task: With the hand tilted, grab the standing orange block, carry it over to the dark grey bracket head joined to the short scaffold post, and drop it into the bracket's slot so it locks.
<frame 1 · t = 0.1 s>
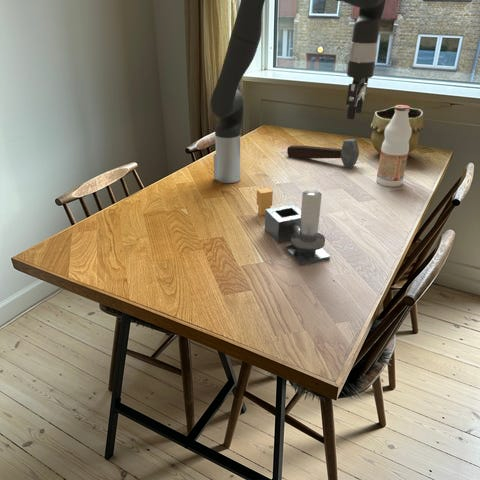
hand: (354, 115, 135), 29 cm above the table, tool pointing down, fingers open, 8 cm apart
orange block: (264, 213, 142), on the table
fruit juice: (388, 182, 165), on the table
bracket post: (285, 233, 130), on the table
hammer: (320, 162, 185), on the table
clay pot: (391, 157, 190), on the table
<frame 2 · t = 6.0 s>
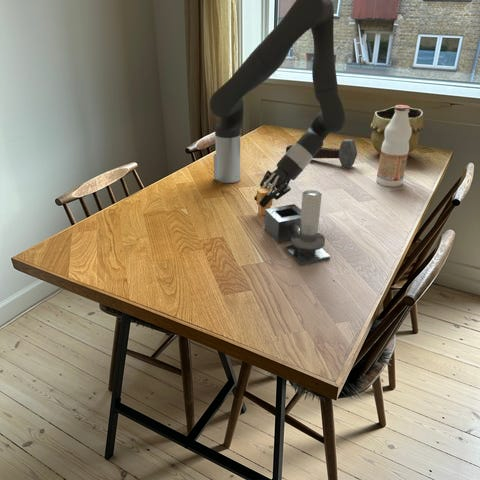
hand: (258, 203, 139), 4 cm above the table, tool tilted 45°, fingers closed on orange block, 3 cm apart
orange block: (264, 213, 142), on the table, touching gripper
everything else where it was.
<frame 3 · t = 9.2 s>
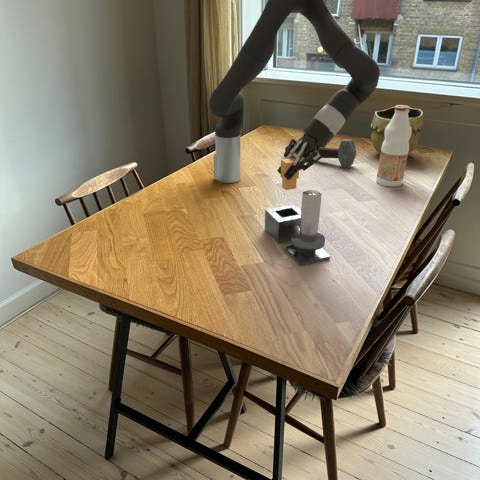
hand: (283, 175, 121), 18 cm above the table, tool tilted 45°, fingers closed on orange block, 3 cm apart
orange block: (289, 187, 123), point 14 cm above the table, touching gripper
when the fingers open (9 cm above the table, at t = 12.2 s): orange block drops 3 cm, resting on bracket post.
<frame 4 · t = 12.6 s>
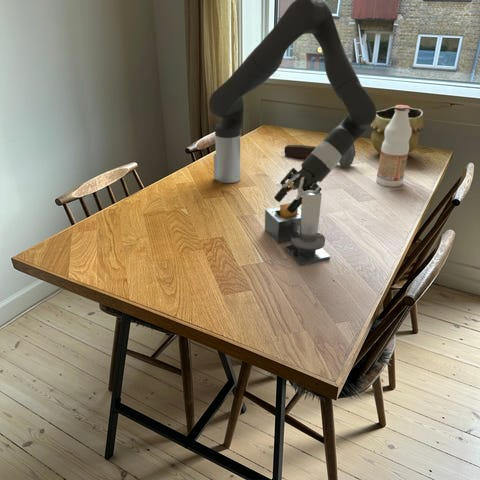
hand: (282, 205, 125), 10 cm above the table, tool tilted 45°, fingers open, 7 cm apart
orange block: (288, 230, 130), point 1 cm above the table, touching bracket post
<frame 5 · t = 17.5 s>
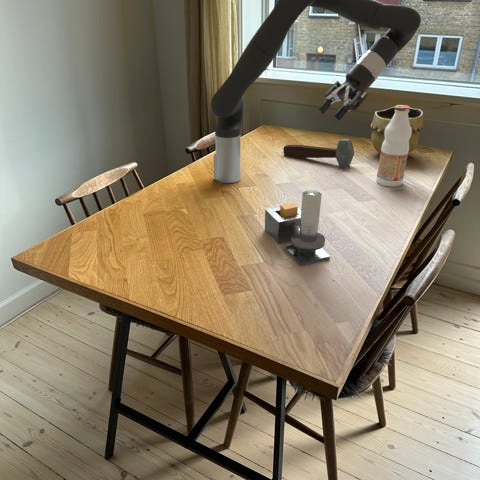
hand: (328, 115, 130), 31 cm above the table, tool tilted 45°, fingers open, 8 cm apart
at the end: orange block 0.9 cm off-centre on the bracket post, point 1.1 cm above the bracket post's base; orange block tilted 3°; the gripper is holding nothing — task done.
